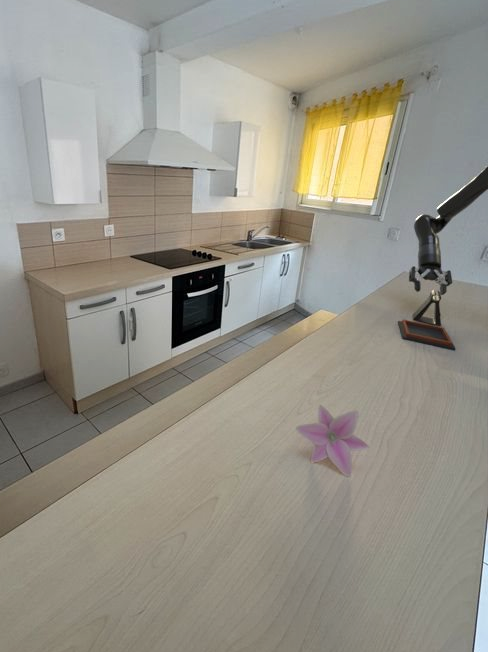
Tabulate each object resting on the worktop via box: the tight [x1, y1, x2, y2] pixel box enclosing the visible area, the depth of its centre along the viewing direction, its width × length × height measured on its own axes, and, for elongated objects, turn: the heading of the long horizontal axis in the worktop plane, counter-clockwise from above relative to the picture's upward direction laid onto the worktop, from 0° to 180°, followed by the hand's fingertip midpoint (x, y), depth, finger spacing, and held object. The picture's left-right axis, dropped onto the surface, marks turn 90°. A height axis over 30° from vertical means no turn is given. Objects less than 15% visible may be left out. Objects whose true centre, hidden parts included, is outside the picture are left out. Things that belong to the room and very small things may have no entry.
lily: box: [295, 404, 370, 478], centre depth 63 cm, size 12×12×10 cm
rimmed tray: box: [397, 319, 456, 351], centre depth 115 cm, size 15×15×2 cm
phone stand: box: [412, 289, 442, 327], centre depth 125 cm, size 9×6×12 cm, turn 57°
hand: (430, 292), depth 127 cm, fingers open, 8 cm apart
